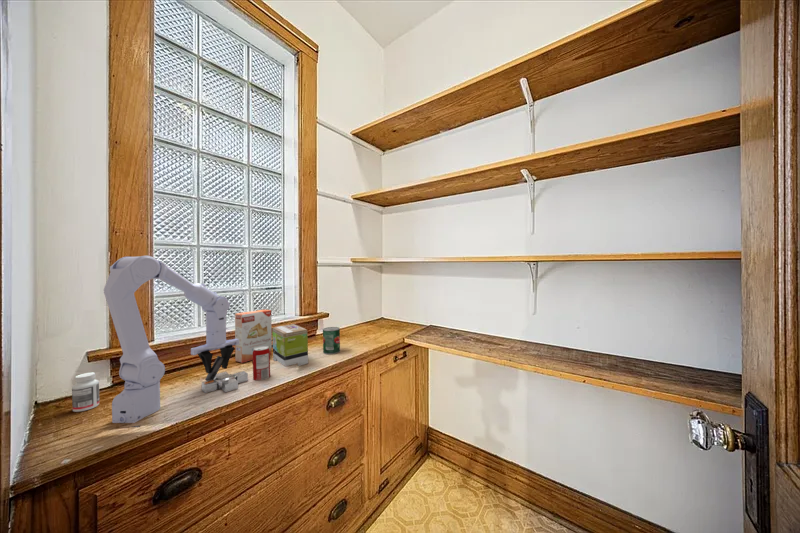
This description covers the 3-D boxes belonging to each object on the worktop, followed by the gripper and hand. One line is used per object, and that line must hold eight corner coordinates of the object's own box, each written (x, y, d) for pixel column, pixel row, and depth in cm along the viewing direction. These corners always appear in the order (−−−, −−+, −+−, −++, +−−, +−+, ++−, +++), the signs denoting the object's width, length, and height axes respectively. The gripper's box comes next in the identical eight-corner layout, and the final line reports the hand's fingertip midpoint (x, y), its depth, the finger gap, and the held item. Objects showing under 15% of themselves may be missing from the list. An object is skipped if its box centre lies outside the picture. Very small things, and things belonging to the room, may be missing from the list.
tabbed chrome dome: (252, 384, 95) (252, 376, 95) (208, 397, 86) (208, 388, 86) (239, 374, 103) (239, 367, 103) (198, 386, 94) (198, 377, 94)
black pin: (203, 379, 94) (216, 355, 97) (207, 379, 96) (220, 356, 99) (209, 381, 94) (222, 357, 97) (214, 382, 96) (226, 358, 99)
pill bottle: (85, 403, 86) (84, 371, 86) (104, 402, 86) (104, 370, 86) (66, 413, 80) (65, 378, 80) (87, 411, 81) (86, 377, 81)
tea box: (272, 360, 123) (271, 326, 123) (295, 355, 129) (294, 323, 129) (284, 370, 111) (283, 332, 111) (309, 363, 118) (308, 328, 118)
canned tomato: (321, 350, 136) (321, 327, 136) (338, 348, 139) (337, 326, 139) (324, 355, 129) (324, 331, 129) (341, 352, 132) (341, 329, 132)
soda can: (261, 376, 105) (261, 344, 105) (273, 378, 103) (273, 345, 103) (249, 382, 99) (248, 348, 99) (262, 384, 98) (261, 349, 98)
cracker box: (242, 363, 119) (241, 314, 119) (234, 361, 123) (233, 313, 123) (272, 354, 131) (271, 309, 131) (264, 352, 134) (264, 308, 134)
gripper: (198, 336, 89) (198, 379, 89) (243, 327, 101) (244, 365, 101) (187, 334, 93) (188, 375, 92) (233, 326, 105) (233, 362, 105)
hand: (216, 370), depth 97 cm, fingers closed on black pin, 4 cm apart
